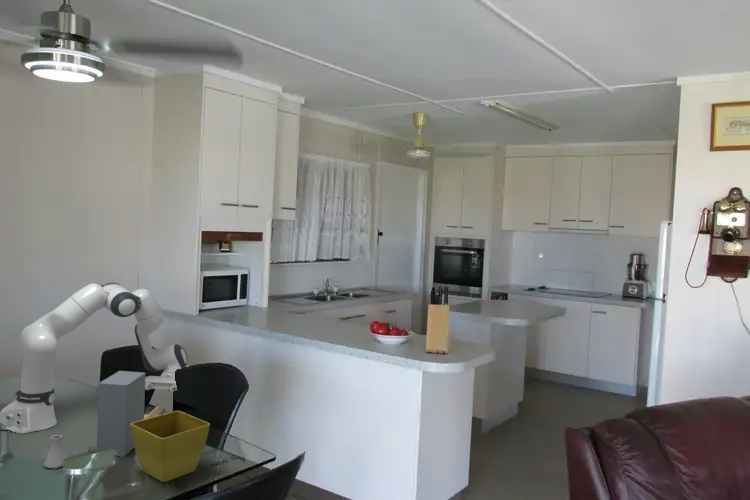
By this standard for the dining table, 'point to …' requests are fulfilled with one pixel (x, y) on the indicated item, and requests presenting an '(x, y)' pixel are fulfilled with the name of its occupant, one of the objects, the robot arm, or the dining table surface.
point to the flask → (55, 453)
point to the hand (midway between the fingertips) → (158, 389)
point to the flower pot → (169, 444)
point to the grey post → (119, 410)
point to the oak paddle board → (155, 412)
